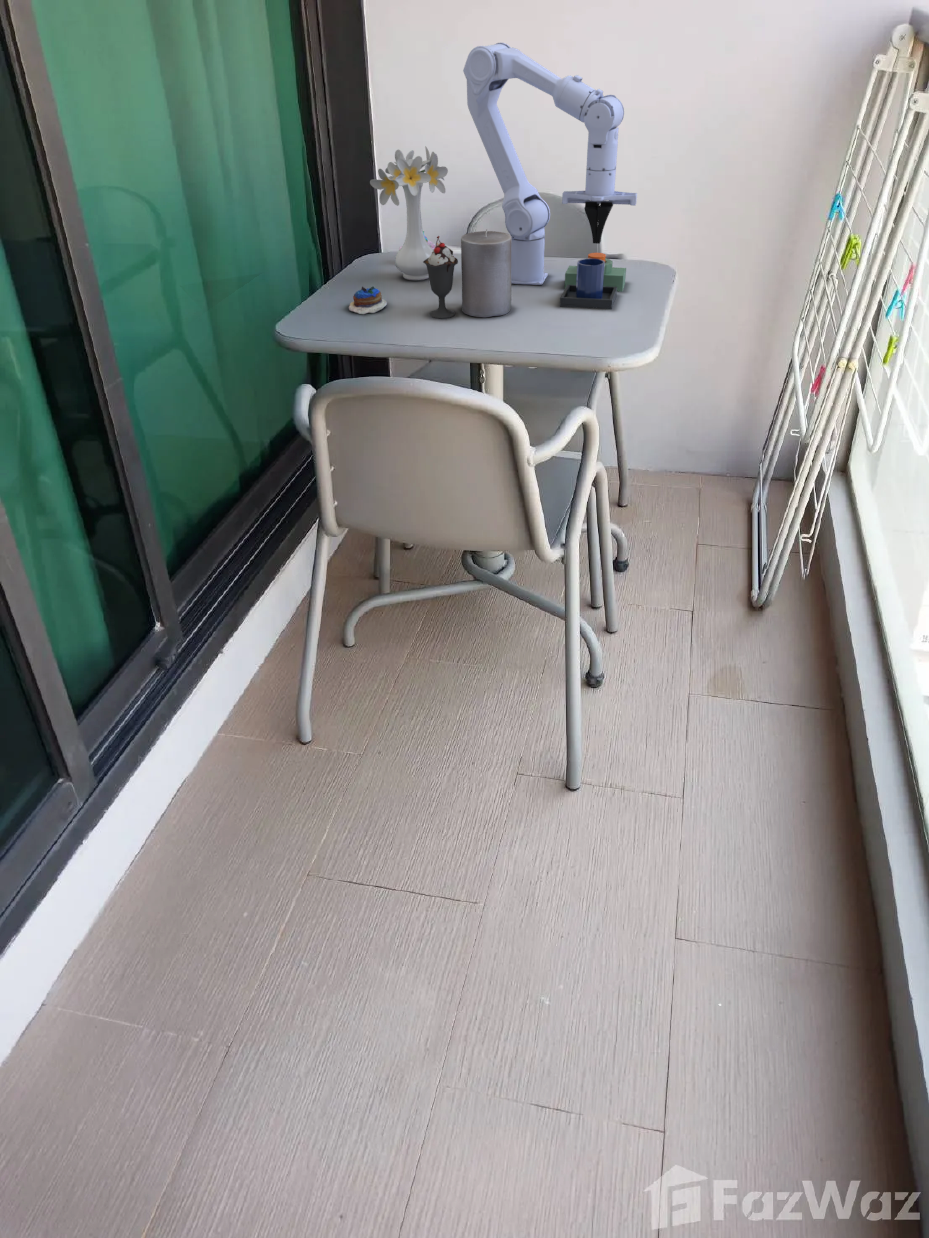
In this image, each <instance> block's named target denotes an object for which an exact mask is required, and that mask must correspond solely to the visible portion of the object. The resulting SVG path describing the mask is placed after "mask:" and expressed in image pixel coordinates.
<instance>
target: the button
mask: <svg viewBox="0 0 929 1238" xmlns="http://www.w3.org/2000/svg"><path fill="white" fill-rule="evenodd" d="M587 258H588V259H589V258H592V259H600V260H603V261H604V262H605V258H606V259H607V255H606V253H603V252H590V253H588V254H587Z"/></svg>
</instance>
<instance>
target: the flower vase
mask: <svg viewBox="0 0 929 1238" xmlns="http://www.w3.org/2000/svg"><path fill="white" fill-rule="evenodd" d="M424 148H425V155H426V160H423V157H422V156H421V155H417V156H415V150H410V151H409V152H408V153H407V154H406V156H405V155H404V153H403V151H402V150H400V149H396V150H395V152H394V160H395V161H393V162H392V161H390V162H388V163H387V167H386V168H385V169H384V170H385V171H384V170H383V169H382V168H378V169H377V173H378V177H379V179H375V178H374V179H370V181H369V184H370V186H371V187H372V188H373V189H375V190H378V191H379V190H380V191H381V192H380V194H379V204H380V205H381V206H385V205H387V203H388V201H389V199H390V200H391V202H392V203H393V204H394V205H395V206H397V207H398V206H400V200H399V196H398V194H397V190H398V189H399V187H402V189H403V193H404V198H405V204H406V234H405V239H404V242H403V245H401V246H402V247H401V246H400V247H401V249H400V250H399V249H398V251H397V253H396V255H395V258H394V259H395V260H394V264H395V266H396V268H397V269H398V270H399V272H400V273H402V277H403V278H404V279H405V280H408V281H424V280H427V279H428V280H429V275H428V270H427V266H426V264H425V263H423V261H425V260H426V259H427V258H429V257H430V256H431V254H432V252H433V249H432V248H431V247H430V246H429V245H428V243H427V241H426V239H425V237H424V235H425V233H424V234H423V231H424V230H423V222H422V220H423V219H422V209H421V198H422V197H421V196H422V190H423V189H422V188H423V186H424V184H426V183H427V184H428V188H429V192H430V193H434V192H435V190H436V188H437V189H438V191H439V192H440V193H442V194H445V193H446V187H445V184H444V183H443V181H445V177H446V176H447V175H448V172H449V169H448V168H447V167H446V166H439V158H438V155H437V153H435V152H434V151H431V154H430V151H429V149H428V147H427V146H426V145H425V147H424ZM414 156H415V157H414ZM423 168H424V169H423ZM421 169H422V170H421ZM388 175H390V176H388Z"/></svg>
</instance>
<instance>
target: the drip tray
mask: <svg viewBox="0 0 929 1238" xmlns="http://www.w3.org/2000/svg"><path fill="white" fill-rule="evenodd" d="M617 293H618V291H617V287H610V286H603V297H602V299H593V298H576V285H567V286H566V288H565V287H564V290H563V292H562V294H561V295H560V298H559V300H560V301H559V308H575V309H595V310H613V307H614V304H615V301H616V299H617V295H618V294H617Z"/></svg>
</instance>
